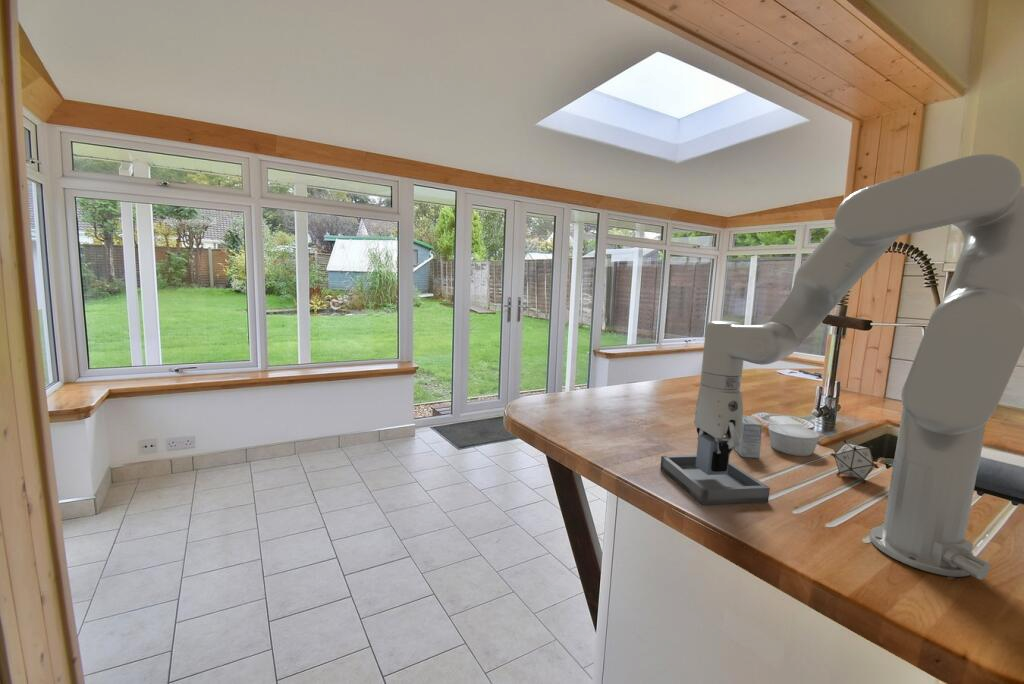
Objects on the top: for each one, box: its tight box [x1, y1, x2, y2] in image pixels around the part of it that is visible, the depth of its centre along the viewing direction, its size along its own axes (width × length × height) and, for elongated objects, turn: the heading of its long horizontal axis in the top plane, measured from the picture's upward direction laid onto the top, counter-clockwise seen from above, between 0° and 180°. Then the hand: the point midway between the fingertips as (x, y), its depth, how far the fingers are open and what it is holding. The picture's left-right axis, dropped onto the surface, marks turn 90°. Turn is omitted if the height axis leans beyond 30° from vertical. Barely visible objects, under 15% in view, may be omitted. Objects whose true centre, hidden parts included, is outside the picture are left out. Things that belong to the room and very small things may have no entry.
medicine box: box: [734, 414, 763, 459], centre depth 115 cm, size 8×4×9 cm, turn 168°
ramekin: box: [767, 423, 821, 457], centre depth 118 cm, size 11×11×5 cm
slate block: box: [695, 435, 731, 475], centre depth 95 cm, size 4×4×7 cm
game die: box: [830, 439, 880, 484], centre depth 101 cm, size 9×8×10 cm
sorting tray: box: [660, 454, 770, 506], centre depth 96 cm, size 17×14×3 cm
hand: (711, 464), depth 96 cm, fingers closed on slate block, 4 cm apart
